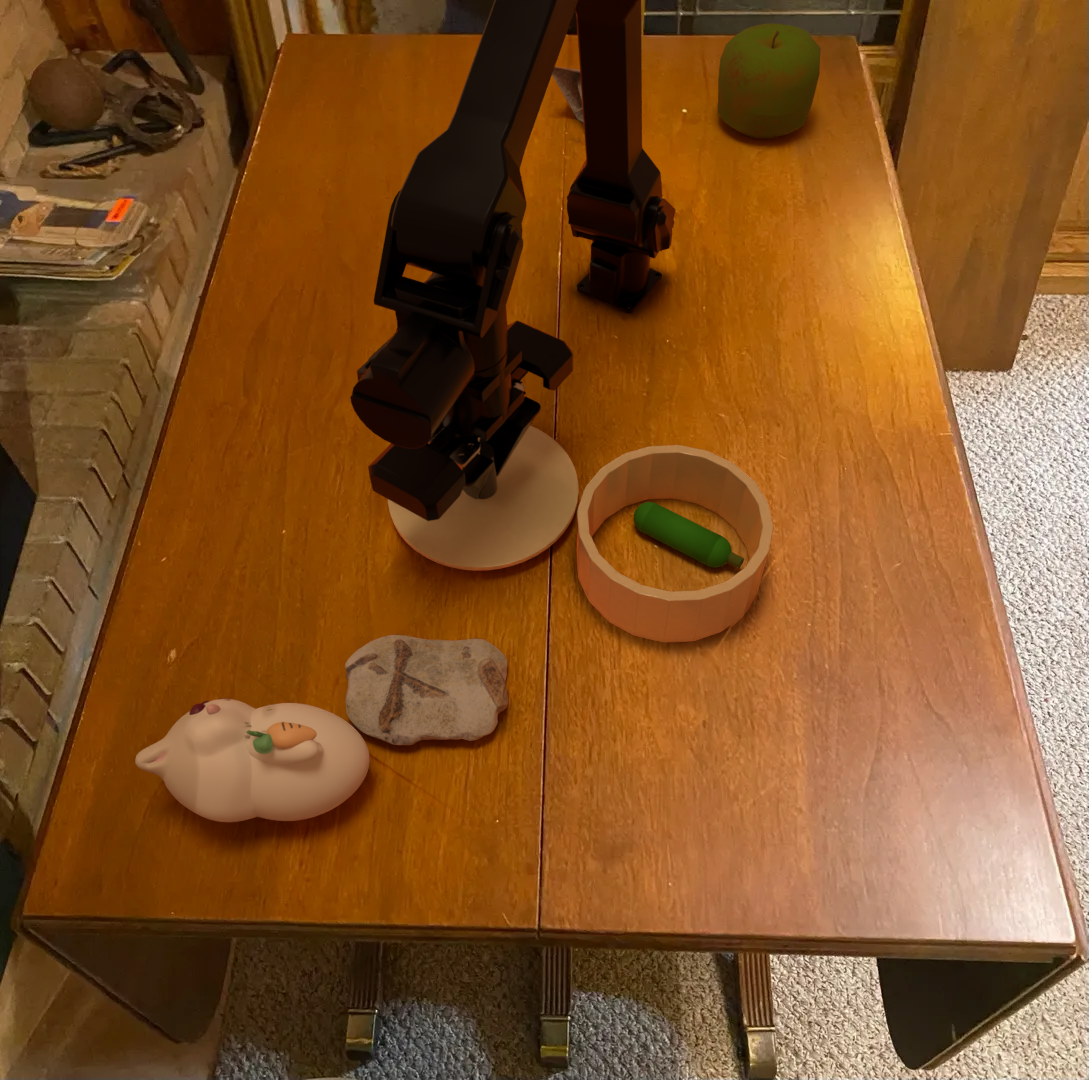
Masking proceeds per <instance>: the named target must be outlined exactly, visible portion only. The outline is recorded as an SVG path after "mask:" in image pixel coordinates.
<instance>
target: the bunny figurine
mask: <svg viewBox="0 0 1089 1080" xmlns="http://www.w3.org/2000/svg"><path fill="white" fill-rule="evenodd" d="M369 751H370V750H369V748H368V745H367V743H366V741H365V740H364V738H363V736H362V735H361V734H360V732H359V731H358V730H357V729H356V728H355V726H352V725H351V724H350V723H349V722H348V721H346V720H345V719H344V718H342V717H340V716H339V715H337V714H335V713H333V712H331V711H329V710H327V709H323V708H320V707H318V706H314V705H310V704H306V703H298V702H297V703H296V702H279V703H274V704H269V705H264V706H260V707H257V708H255V707H253V706H251V705H250V704H247V703H245V702H243V701H241V700H238V699H233V698H217V699H213V700H204V701H202V702H200V703H199V702H198V703H196V704H193V706H191V708H190V710H189V711H188V712H186V713H185V714H184V715H182V716H181V717H180V718H178V719H177V721H176V722H174V724H173V725H172V727H170V729H169V730H168V732H167V733H166V735H165V736H164V737H163V738H162V739H160V740H158V741H157V742H155V743H153V744H150V745H148V746H146V747H145V748H143V749H142V750H140V751H139V752H138V753H137V754H136V756H135V761H134V763H135V765H136V767H137V768H139V769H140V770H142V771H145V772H148V773H151V774H154V775H156V776H158V777H159V778H160V779H161V780H163V783H164V785H165V786H166V789H167V790H168V792H169V793H170V794H171V795H172V797H173V798H174V799H176V801H177V802H178V803H180V804H181V805H182V806H183V807H185V808H186V809H188V810H189V811H190V812H192V813H194V814H196V815H198V816H200V817H202V818H205V819H207V820H209V821H214V822H221V823H239V822H242V821H243V822H244V821H248V820H251V819H254V818H261V819H266V820H270V821H280V822H294V821H302V820H303V821H304V820H308V819H311V818H314V817H318V816H320V815H323V814H325V813H327V812H329V811H332V810H334V809H335V808H337V807H338V806H340V805H342V804H343V803H344V802H346V801H347V800H348V799H349V798H350V797H351V796H352V795H353V794H354V793H355V792H356V791H358V789H360V787H361V785H362V784H363V782H364V780H365V779H366V777H367V774H368V771H369V768H370V760H371V758H370V752H369Z"/></svg>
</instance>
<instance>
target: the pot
mask: <svg viewBox="0 0 1089 1080" xmlns="http://www.w3.org/2000/svg"><path fill="white" fill-rule="evenodd" d="M665 499H673V500H677V501H678V500H679V501H683V502H688V503H693V504H697V505H699V506H701V507H702V508H704V509H707V510H709V511H711V512H713V513H715V514H717V515H718V516H719V517H721V518H722V519H723V520H724V521H725V522H726V523H727V524H728V525H730V527H732V528H733V529H734V530H735V531H736V533H737V534H738V536H739V539H740V540H741V541H742V543H743V545H744V546H745V548H746V550H747V557H748V562H747V564H746V566H745V567H743V569H741V570H739V571H738V572H737V573H735V574H734V575H732V576H731V577H730V578H728V579H727V580H726V581H723V582H720V583H718V584H714V585H711V586H708V587H704V588H702V589H697V590H674V591H670V590H666V589H661V588H656V587H652V586H648V585H644V584H641V583H639V582H637V581H636V580H634V579H632V578H630V577H628V576H626V575H624V574H622V573H620V572H618V571H617V570H616V569H615V568H614V567H613V566H612V565H611V564H610V562H608V561H607V560H606V559H605V558H604V557H603V555H601V554H600V552H599V550H598V548H597V545H596V544H595V541H594V540H593V536H594V535H595V533H596V532H597V531H598V529H599V528H600V527H601V526H602V524H603V523H604V522H605V520H607V519H608V518H609V517H611V516H613V515H614V514H616V513H617V512H618V511H620V510H622V509H623V508H624V507H627V506H630V505H634V504H637V503H642V502H643V501H647V500H665ZM576 510H577V511H576V566H577V569H576V570H577V579H578V581H579V583H580V586H581V587H582V590H583V592H584V594H585V596H586V599H587V600H588V602H589V603H590V604H591V606H593V607H594V608H595V610H597V612H598V613H599V614H600V616H602V617H603V618H604V619H605V620H606V621H607V622H608V623H610V624H612V625H614V626H616V627H617V628H619V629H621V630H622V631H625V632H626V633H628V634H630V635H632V636H634V637H639V638H641V639H642V638H643V639H645V640H646V639H647V640H650V641H656V642H659V643H683V642H696V641H699V640H702V639H704V638H707V637H710V636H714V635H717V634H720V633H722V632H723V631H725V630H726V629H731V628H733V626H735V625H736V624H737V623H738V622H739V621H740V620H741V619H742V618H743V617H744V616H745V615H746V613H747V612H748V611H749V609H750V607H751V605H752V604H753V602H754V600H755V598H756V597H757V594H758V592H759V587H760V584H761V581H762V577H763V573H764V570H765V567H766V563H767V559H768V556H769V553H770V547H771V543H772V537H773V533H774V523H773V519H772V514H771V509H770V505H769V502H768V500H767V498H766V496H765V495H764V494H763V492H762V490H761V489H760V487H759V485H758V484H757V482H756V481H755V480H754V479H753V478H752V477H750V476H749V475H748V474H747V473H746V472H745V471H744V470H743V469H741V468H740V467H739V466H738V465H737V464H735V463H733V461H731V460H729V459H726V458H724V457H722V456H720V455H717V454H715V453H714V452H712V451H709V450H706V449H701V448H696V447H691V446H687V445H682V444H670V445H669V444H667V445H666V444H664V445H649V446H645V447H642V448H639V449H635V450H631V451H627V452H625V453H622V454H621V455H619V456H618V457H615V458H614V459H613V460H611V461H609V462H607V463H606V464H604V465H603V466H602V467H600V469H599V470H598V471H597V472H596V473H595V475H594V476H592V478H591V479H590V481H589V482H588V483H587V484H586V485H585V487H584V489H583V492H582V494H581V498H580V501H579V504H578V506H577V509H576Z"/></svg>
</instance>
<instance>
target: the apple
mask: <svg viewBox="0 0 1089 1080" xmlns="http://www.w3.org/2000/svg"><path fill="white" fill-rule="evenodd" d="M820 68H821V47H820V45H819V44H818V43H817V42H816V41H815V40H814V38H813V37H812V35H810V33H809V32H808V31H807V30H806V29H803V28H800V27H798V26H795V25H791V24H784V23H770V22H769V23H761V24H756V25H752V26H750V27H748V28H744V29H742V30H741V31H739V32H738V33H737V34H735V35H734V36H732V37H731V39H730V40H729V41H728V42H726V44H725V45H724V48H723V51H722V54H721V56H720V58H719V68H718V78H717V79H718V80H717V81H718V82H717V84H718V85H717V87H718V89H717V91H718V92H717V114H718V115H719V117H720V118H721V119H722V121H723V122H724V123H725V124H727V125H728V126H730V127H731V128H732V129H734V130H735V131H737V132H738V133H740V134H742V135H743V136H747V137H749V138H753V139H760V140H761V139H763V140H769V139H773V138H779V137H781V136H785V135H789V134H791V133H792V132H794V131H795V132H796V130H798V129H801V128H803V126H804V124H805V123H806V121H807V120H808V118H809V114H810V111H811V108H812V104H813V101H814V98H815V94H816V90H817V87H818V82H819V78H820V74H821V73H820V70H821V69H820Z"/></svg>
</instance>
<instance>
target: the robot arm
mask: <svg viewBox="0 0 1089 1080" xmlns="http://www.w3.org/2000/svg"><path fill="white" fill-rule="evenodd" d="M574 13H575V18H576V34H577V47H578V62H579V70H580V77H581V91H582V106H583V120H584V123H583V133H584V145H585V146H584V148H585V160H584V162H583V163H582V166H581V167H580V169H579V170H578V172H577V174H576V176H575V178H574V180H573V182H572V183H571V185H570V187H569V192H568V194H567V196H566V213H567V217H568V222H567V224H568V225H569V227H570V230H571V234H572V237H574V238H581V239H585V240H588V241H591V244H590V260H589V261H590V262H589V272H588V273H586V275H585V276H583V278H582V279H580V280H579V282H578V283H577V284H576V291H577V293H578V292H579V293H580V294H582V295H585V296H587V297H589V298H592V299H594V300H597V301H599V302H601V303H603V304H606V305H608V306H610V307H613V308H615V309H617V310H620V311H621V312H624V313H626V314H631V313H634V311H636V309H637V308H638V307H639V306H640V305H641V303H643V301H644V300H645V299H646V298H647V297H648V296H649V295H650V294H651V292H652V291H653V290H654V289H655V288H656V287H657V286H658V285H659V283H661V282H662V281H663V273H662V272H661V271H658V270H656V269H652V268H651V258H652V259H656V258H657V256H658V254H659V253H660V252H663V251H666V250H669V249H670V248H671V246H672V240H673V228H674V225H675V216H676V208H675V207H674V206H673V205H672V204H671V203H670V202H669V201H668V200H667V199H666V198H663V186H662V174H661V173H662V172H661V171H660V169H659V168H658V166H657V164H656V163H655V162H654V161H653V159H651V157H650V156H649V154H648V153H647V152H646V151H645V149H644V148H643V82H642V81H643V78H642V77H643V74H642V73H643V70H642V67H643V66H642V64H643V63H642V60H643V59H642V57H643V55H642V53H643V51H642V0H493V4H492V6H491V8H490V12H489V15H488V18H487V20H486V23H485V26H484V29H483V32H482V35H481V37H480V40H479V43H478V46H477V48H476V51H475V54H474V56H473V60H472V62H471V65H470V68H469V71H468V74H467V77H466V80H465V82H464V85H463V87H462V91H461V93H460V97H459V100H458V102H457V105H456V108H455V111H454V113H453V115H452V118H451V120H450V122H449V124H448V126H447V128H446V130H444V131H443V132H442V133H440V134H439V135H438V136H437V137H436V138H434V139H433V140H432V141H430V143H428V144H427V145H426V146H425V147H423V148H422V149H421V150H420V151H419V152H417V154H416V155H415V157H414V160H413V162H412V164H411V166H410V169H409V171H408V174H407V176H406V178H405V179H404V182H403V184H402V186H401V188H400V189H399V191H397V193H396V194H395V196H394V198H393V201H392V203H391V205H390V209H389V213H388V218H387V224H386V229H385V236H384V241H383V247H382V252H381V256H380V257H381V258H380V263H379V269H378V273H377V278H376V279H377V280H376V286H375V291H374V295H373V304H374V306H376V307H377V306H378V307H381V308H383V309H387V310H391V311H394V314H395V319H396V330H395V332H394V333H393V334H392V336H391V337H390V338H389V339H387V340H386V342H384V343H383V344H382V345H381V346H380V347H379V348H378V349H377V350H376V351H374V353H372V354H371V355H370V357H368V359H367V361H366V362H364V364H363V365H362V366H360V367H359V368H358V370H356V375H357V382H356V383H355V385H354V386H353V387H352V392H351V396H350V397H349V398H350V403H351V406H352V408H353V411H354V413H355V414H356V415H357V417H358V419H359V420H360V421H361V422H362V424H363V425H365V427H366V428H367V429H368V430H369V431H370V432H372V433H373V434H374V435H376V436H378V437H379V438H380V439H382V440H383V441H384V442H387V443H390V444H389V445H388V446H387V447H386V448H385V449H383V451H382V452H381V453H380V454H379V455H378V456H377V457H376V458H375V459H374V460H373V461H372V462H371V463H370V464H369V465H368V466H367V469H368V475H369V481H370V484H371V488H372V491H373V492H375V493H377V495H380V496H382V497H384V498H385V499H387V500H388V499H389V500H391V501H392V502H394V503H396V504H398V505H400V506H401V507H403V508H405V509H407V510H409V511H411V512H412V513H414V514H416V515H418V516H420V517H421V518H423V519H425V520H427V521H432V520H438V519H440V517H441V516H442V515H443V514H444V513H445V512H446V511H447V510H448V509H449V507H450V506H451V505H452V504H453V503H454V502H455V501H456V500H457V499H458V498H459V496H460V495H461V492H462V490H463V491H464V492H465V493H466V494H467V495H468V496H470V497H472V498H474V499H478V498H479V497H480V495H481V493H482V490H483V488H484V486H485V483H486V481H487V478H488V475H489V473H490V471H491V468H492V465H493V463H494V461H493V460H492V459H490V458H488V457H486V456H484V455H482V454H480V449H481V446H480V441H481V442H486V443H488V444H490V445H491V446H492V447H493V449H494V453H495V464H496V475H497V476H498V475H499V474H500V472H501V471H502V469H503V467H504V466H505V464H506V463H507V461H508V459H509V458H510V456H511V454H512V453H513V451H514V450H515V448H516V446H517V445H518V443H519V442H520V440H521V439H522V437H523V435H524V434H525V432H526V431H527V429H528V428H529V426H532V425H531V424H532V423H533V421H534V420H535V418H536V417H537V416H538V415H539V413H540V412H541V409H542V407H541V406H542V405H541V403H539V402H538V401H537V400H534V399H532V398H530V397H528V396H527V392H526V388H525V385H524V384H523V383H524V382H523V381H522V380H523V379H524V378H525V377H526V375H527V374H528V373H530V374H533V375H535V376H537V377H539V378H540V379H542V387H543V388H545V389H547V390H550V391H557V389H558V388H559V387H560V386H561V385H562V384H563V382H565V380H566V379H567V378H568V377H569V376H570V375H571V374H572V373H573V372H574V354H573V352H572V349H571V347H569V345H568V343H566V340H563V339H561V338H559V337H556V336H554V335H552V334H549V333H547V332H545V331H543V330H540V329H539V328H536V327H534V326H531V325H530V324H527V323H525V322H523V321H521V320H520V321H519V320H515V321H513V322H511V323H509V324H508V314H507V304H508V300H509V297H510V292H511V290H512V286H513V283H514V280H515V276H516V273H517V269H518V266H519V262H520V259H521V256H522V252H523V248H524V239H523V221H524V217H525V213H526V210H527V198H526V194H525V188H524V183H523V178H522V174H521V166H522V163H523V159H524V155H525V152H526V149H527V146H528V144H529V141H530V137H531V135H532V132H533V129H534V126H535V124H536V121H537V118H538V115H539V112H540V109H541V106H542V103H543V101H544V99H545V95H546V92H547V90H548V87H549V84H550V81H551V79H552V77H553V76H552V73H553V70H554V67H556V64H557V62H558V59H559V56H560V53H561V50H562V47H563V45H564V42H565V39H566V36H567V33H568V31H569V28H570V25H571V22H572V19H573V17H574ZM407 265H408V266H410V267H413V268H416V269H421V270H424V271H428V272H431V274H430V275H429V276H428V277H427V278H426V280H425V281H420V280H416V279H413V278H410V277H406V276H404V274H405V270H406V268H407Z"/></svg>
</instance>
